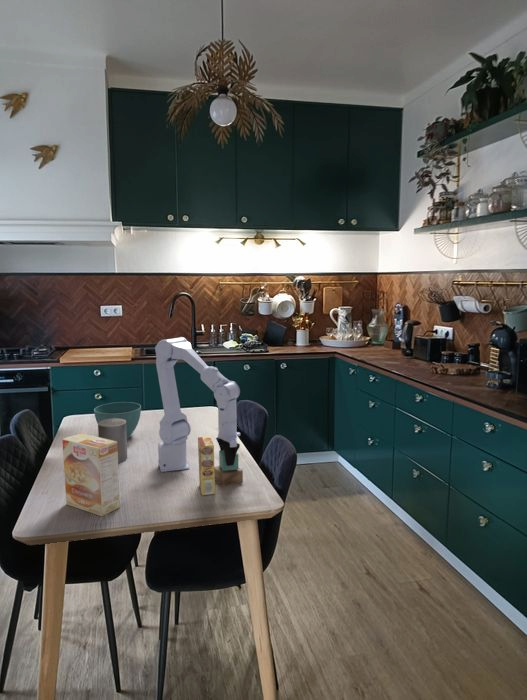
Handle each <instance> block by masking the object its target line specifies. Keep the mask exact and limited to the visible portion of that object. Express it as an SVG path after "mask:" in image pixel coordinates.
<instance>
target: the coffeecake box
mask: <svg viewBox="0 0 527 700" xmlns="http://www.w3.org/2000/svg"><path fill="white" fill-rule="evenodd" d="M61 440H62V451H63V469H64V473H63V474H64V486H65V504H66V505H67V506H70V507H73V508H76V509H79V510H82V511H84V512H88V513H91V514H92V515H96V516H99V517H104V516H105V515H107V514H109V513H111V512H113V511H116V510H117V509H120V508H121V499H120V476H119V463H118V450H117V441H112V440H108V439H104V438H100V437H99V436H96V435H92V434H91V435H90V434H88V433H82V432H80V433H78V434H73V435H70V436H67V437H64V438H62V439H61Z"/></svg>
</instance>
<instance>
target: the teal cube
mask: <svg viewBox="0 0 527 700" xmlns="http://www.w3.org/2000/svg"><path fill="white" fill-rule="evenodd" d="M218 464H219V465H218V466H220V467H221V469H222V470H223V471H229V470H237V469H238V467H239V453H238V452H237V453H236V456H235V461H234V465H231V466H227V464H226V460H225V454H224V450H218Z"/></svg>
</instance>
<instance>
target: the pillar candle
mask: <svg viewBox="0 0 527 700" xmlns="http://www.w3.org/2000/svg"><path fill="white" fill-rule="evenodd" d="M97 433H98V434H97V437H100V438H104V439H108V440H112V441H117V450H118V464H120V463H122V462H125V461H126V460H127V458H128V441H127V440H128V438H127V435H126V420H123V419H117V418H113V419H112V418H111V419H105V420H102V421H100V422H99V423H97Z"/></svg>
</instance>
